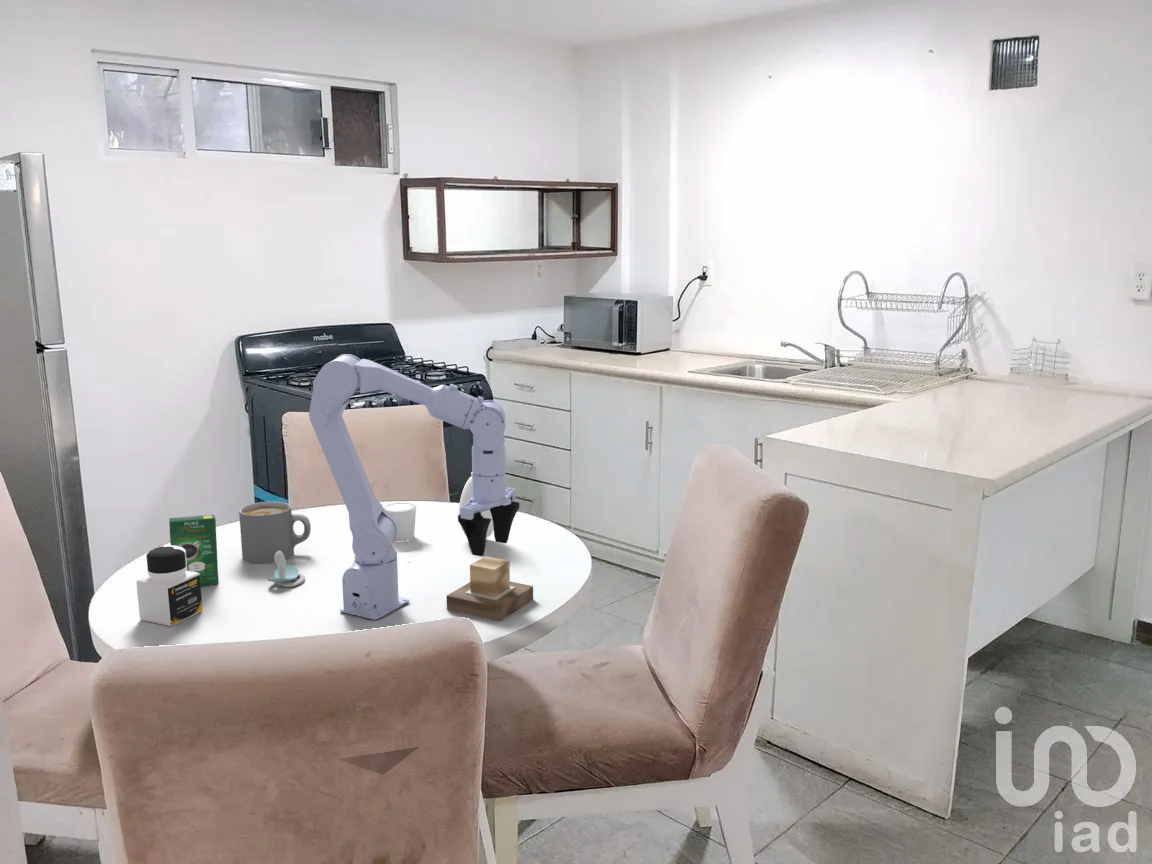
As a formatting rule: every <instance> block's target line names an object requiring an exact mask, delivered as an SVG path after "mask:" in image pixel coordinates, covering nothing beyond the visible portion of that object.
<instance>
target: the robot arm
mask: <svg viewBox="0 0 1152 864" xmlns="http://www.w3.org/2000/svg"><path fill="white" fill-rule="evenodd" d="M312 384H313V385H312V388H313V389H312V395H311V401H310V406H309V410H308V417H309V422H310V423H311V426H312V428H313V430H314V432H315V435H316V438H317V440H318V443H319V444H320V447H321V449H322V452H323V455H324V457H325V459H326V461H327V464H328V466H329V468H330V469H329V470H330V472H331V473H332V476H333V479H334V481H335V483H336V485H337V488H338V491H339V492H340V495H341V497H342V500H343V502H344V505H345V507H346V510H347V511H348V523H349V531H350V532H351V534H352V543H351V546H352V551H353V554H354V561H353V563H352V564H351V566H350V567H349V568H347V569H346V570H345V571H344V573H343V575H342V581H341V583H342V599H343V600H342V603H343V605H342V606H343V607H340V608H339V612H341V613H344V614H348V615H349V614H350V615H352V616H356V615H357V616H356V617H360V616H361V618H364V617H365V618H366V619H369V620H373V621H375V620H376V619H377V620H379V619H380V618H382V617H384V616H386V615H388V614H389V613H391V612H394V611H395V610H397V609H398V608H401V607H402V606H404V605H406V604H407V603H409V602H410V599H409V598H407V597H402V596H399V575H398V574H399V573H398V553H397V550H395V547H394V546H393V545H392V544H393V543H394V542H393V541H394V539H395V538H396V535H397V526H396V524H395V522H394V520H393V519H392V518H391V517H390V516H388V515H387V514H386V512H385V511H384V507H383V504H381V502H380V501H379V500H378V499H377V498H376V496H375V493H374V491H373V489H372V486H371V483H370V481H369V478H368V476H367V474H366V471H365V469H364V467H363V464H362V462H361V459H360V457H359V454H358V452H357V449H356V447H355V444H354V441H353V439H352V438H351V434H350V433H349V429H348V427H347V425H346V423H345V420H344V418H343V413H344V411H345V409H346V407H347V406H348V403H349V401H351V400H350V399H351V397H352V396H354V394H355V393H356V392H357V391H358V390H359V394H364V393H371V392H374V391H383V392H386V393H388V394H391V395H395V396H397V397H400V398H402V399H405V400H408V401H411V402H414V403H416V404H420V405H422V406H425V407H426V409H427V411H428V412H427V413H428V414H429V415H430V417H432V418H435V419H437V420H440V421H442V422H445V423H447V424H450V425H453V426H454V427H458V428H460V429H461V430H470V431H471V433H472V446H471V468H472V469H471V472H472V475H471V476H472V493H473V497H472V498H471V499H470V500H469V501H468V502H467V503H466V504H465V505H464V506H462V507H461V514H459V513H458V515H457V522H458V523H459V525H460V524H461V525H460V527H461V526H462V528H463V530H464V531H465V534H466V535H465V534H464V535H465V537H466V538H467V542H468V545H469V549H470V553H471V555H472V556H477V557H482V556H484V555H485V551H486V540H487V539H486V534H487V530H488V526H489V524H490V521H491V519H489V518H483V516H481V513H482V512H484V511H486V510H488V509H490V512H491V515H492V520H493V527H494V530H493V537H494V541H495V542H496V543H501V544H507V543H508V541H509V536H510V532H511V528H512V526H513V522H514V519H515V516H516V515H517V512H518V511H519V509H520V503H519V502H517V501H514V500H516V499H517V497H516V495H517V493H516V491H517V490H516V488H513V487H509V486H508V487H506V485H507V484H506V483H507V481H506V479H507V478H506V476H507V475H506V468H507V467H506V465H507V464H506V446H505V440H506V439H505V438H506V437H505V435H504V434H505V430H506V413H505V411H504V409H503V408H502V406H501V405H500V404H498V403H497V402H495V401H494V400H492V399H486V400H484V397H483V396H480V395H478V396H477V397H475V396H473V395H470V394H468V393H465V392H463V391H460V390H458V385H456V384H453V383H450V384H449V386H448V385H446V384H439V385H438V386H436V387H431V386H429V385H427V384H424V383H422V382H420V381H418V380H416V379H413V378H411V377H409V376H407V375H405V374H402V373H400V372H398V371H396V370H394V369H392V368H390V367H387V366H384V365H382V364H380V363H378V362H376V361H372V360H370V359H366V358H362V359H361V358H360V357H358V356H356V355H353V354H347V353H345V354H340V355H338V356H337V357H335V358H334V359H333V360H331V361H329V362H327V363H326V364H324V365H323V366H322V367H321V369H319V371H318V373H317V374H316V377H315V378H314V380H313V381H312ZM462 528H461V529H462ZM463 530H462V531H463ZM377 620H376V621H377Z"/></svg>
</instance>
